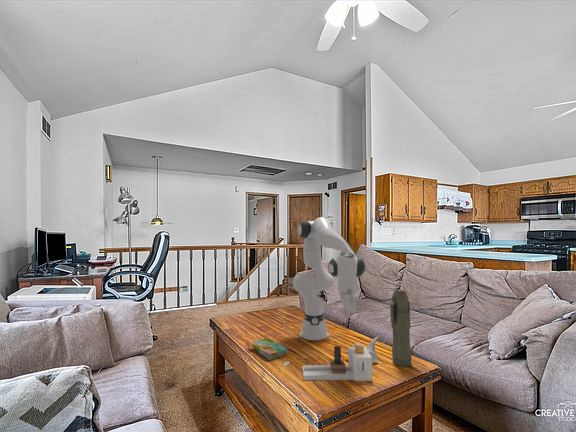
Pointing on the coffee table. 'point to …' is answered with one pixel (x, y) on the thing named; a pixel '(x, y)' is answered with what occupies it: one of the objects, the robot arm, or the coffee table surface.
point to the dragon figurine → (370, 349)
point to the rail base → (354, 371)
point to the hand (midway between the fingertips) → (347, 316)
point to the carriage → (337, 361)
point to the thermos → (401, 329)
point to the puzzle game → (269, 348)
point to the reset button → (359, 349)
